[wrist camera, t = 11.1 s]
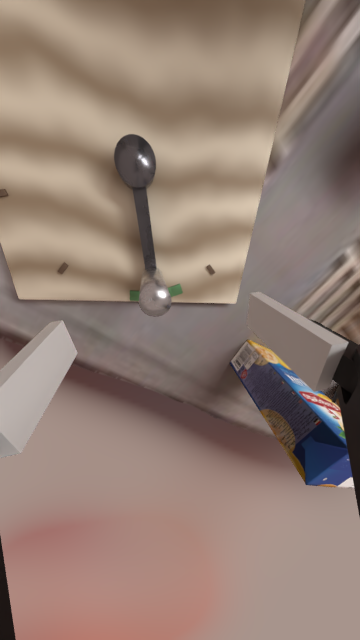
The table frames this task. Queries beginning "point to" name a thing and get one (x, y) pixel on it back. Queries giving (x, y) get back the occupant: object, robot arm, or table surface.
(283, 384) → the beverage box
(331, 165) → the table surface
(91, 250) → the dial board
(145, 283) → the grey long handled part
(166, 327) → the table surface
